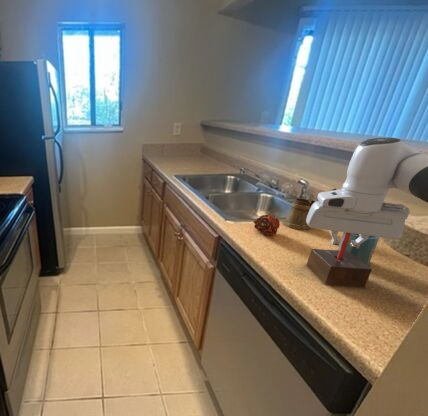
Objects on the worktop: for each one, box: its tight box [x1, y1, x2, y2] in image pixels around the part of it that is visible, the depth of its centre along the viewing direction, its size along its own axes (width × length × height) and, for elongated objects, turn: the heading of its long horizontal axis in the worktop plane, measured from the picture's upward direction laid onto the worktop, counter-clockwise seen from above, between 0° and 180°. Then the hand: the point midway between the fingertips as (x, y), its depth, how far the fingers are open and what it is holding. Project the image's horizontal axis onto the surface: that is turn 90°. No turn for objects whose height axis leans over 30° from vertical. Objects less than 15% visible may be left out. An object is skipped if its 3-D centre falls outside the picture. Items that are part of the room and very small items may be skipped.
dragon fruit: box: [253, 213, 280, 236], centre depth 108 cm, size 8×8×12 cm
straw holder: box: [306, 248, 373, 288], centre depth 81 cm, size 10×10×6 cm
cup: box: [337, 232, 380, 267], centre depth 88 cm, size 8×8×10 cm
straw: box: [337, 233, 351, 260], centre depth 78 cm, size 1×1×20 cm
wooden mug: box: [283, 187, 338, 231], centre depth 110 cm, size 9×14×18 cm, turn 47°
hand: (344, 245), depth 78 cm, fingers open, 3 cm apart
